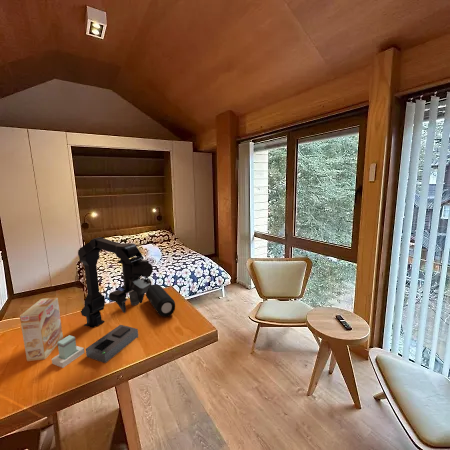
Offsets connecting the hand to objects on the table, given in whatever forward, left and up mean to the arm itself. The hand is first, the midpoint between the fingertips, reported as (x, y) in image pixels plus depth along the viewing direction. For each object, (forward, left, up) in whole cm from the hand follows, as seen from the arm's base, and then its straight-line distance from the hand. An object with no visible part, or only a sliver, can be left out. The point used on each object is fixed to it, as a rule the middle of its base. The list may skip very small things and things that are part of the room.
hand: (132, 307), depth 109 cm
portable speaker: (-6, +27, -15) cm, 31 cm away
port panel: (-4, -8, -14) cm, 17 cm away
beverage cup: (-23, +26, -15) cm, 37 cm away
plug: (-15, -20, -14) cm, 29 cm away
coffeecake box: (-30, -19, -15) cm, 39 cm away
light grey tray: (-15, -20, -14) cm, 29 cm away
